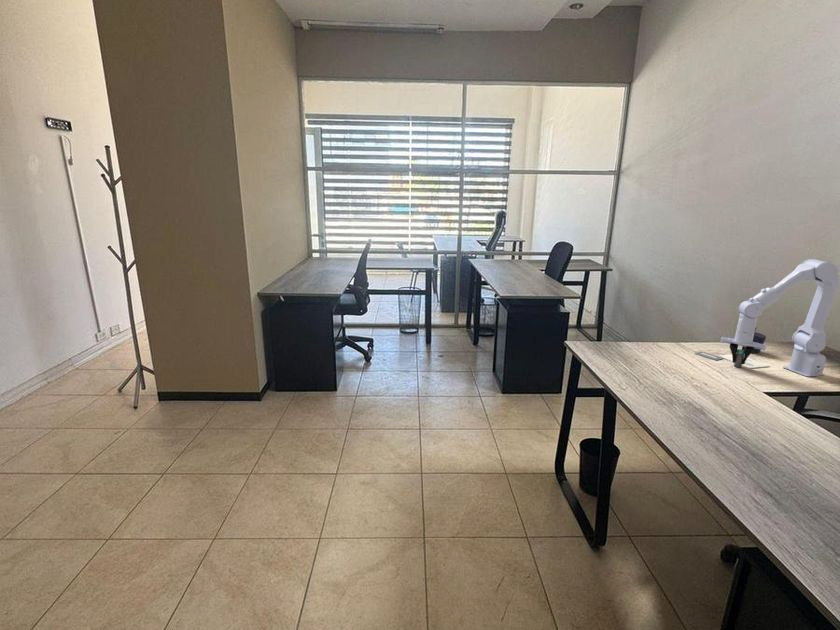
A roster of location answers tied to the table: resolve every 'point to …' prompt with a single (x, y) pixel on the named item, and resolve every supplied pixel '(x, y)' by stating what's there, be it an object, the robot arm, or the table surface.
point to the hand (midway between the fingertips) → (738, 362)
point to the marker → (739, 358)
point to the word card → (709, 355)
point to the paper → (746, 362)
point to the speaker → (757, 341)
